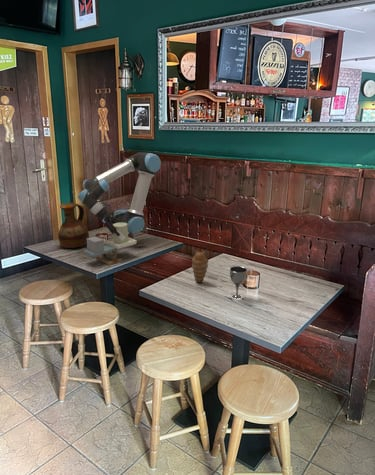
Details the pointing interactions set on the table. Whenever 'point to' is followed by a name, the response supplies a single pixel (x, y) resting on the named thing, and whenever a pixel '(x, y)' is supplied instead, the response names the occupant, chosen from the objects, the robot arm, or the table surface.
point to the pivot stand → (109, 258)
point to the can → (123, 230)
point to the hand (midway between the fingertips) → (125, 236)
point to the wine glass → (237, 277)
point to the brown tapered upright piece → (199, 266)
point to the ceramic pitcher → (72, 227)
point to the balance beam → (105, 246)
